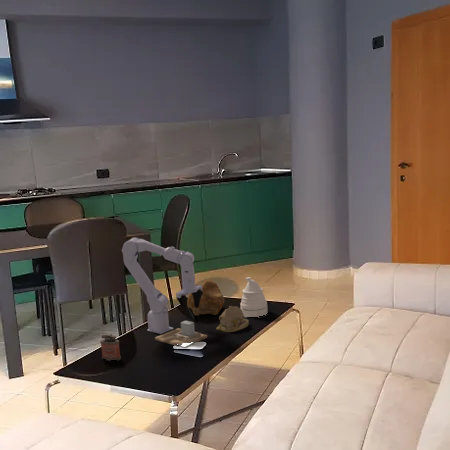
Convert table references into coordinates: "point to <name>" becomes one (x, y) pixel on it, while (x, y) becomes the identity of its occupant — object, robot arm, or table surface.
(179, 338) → the birch board
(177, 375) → the table surface
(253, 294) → the honey pot
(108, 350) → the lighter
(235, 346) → the table surface
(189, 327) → the peg
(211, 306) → the rough brown rock
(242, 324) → the ceramic model
